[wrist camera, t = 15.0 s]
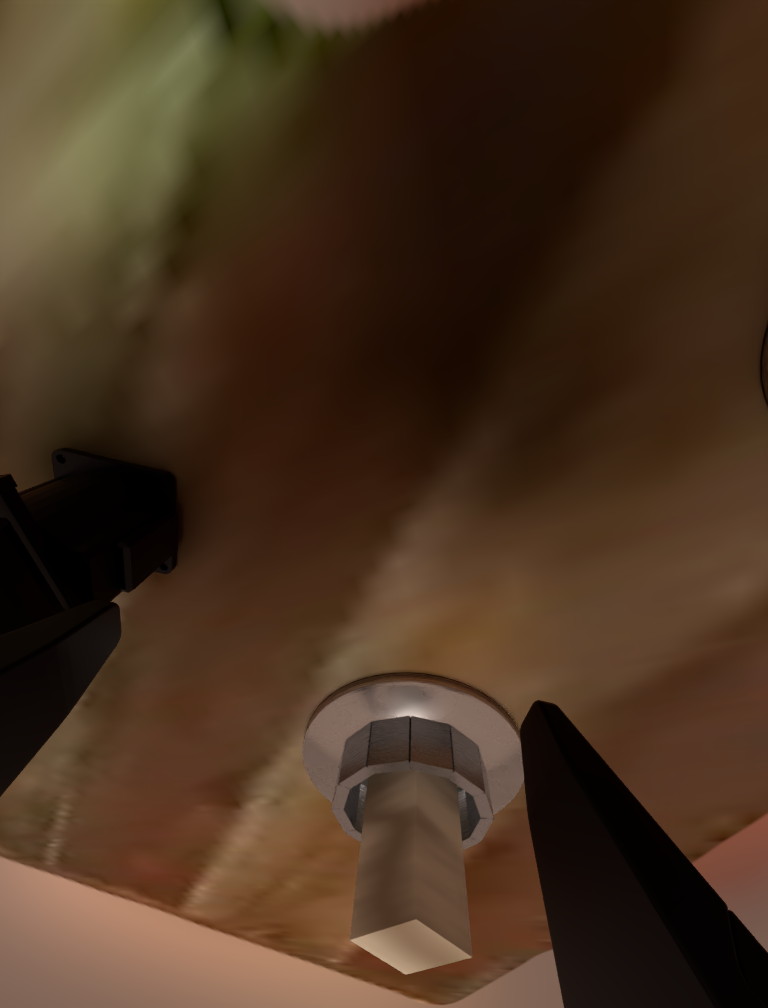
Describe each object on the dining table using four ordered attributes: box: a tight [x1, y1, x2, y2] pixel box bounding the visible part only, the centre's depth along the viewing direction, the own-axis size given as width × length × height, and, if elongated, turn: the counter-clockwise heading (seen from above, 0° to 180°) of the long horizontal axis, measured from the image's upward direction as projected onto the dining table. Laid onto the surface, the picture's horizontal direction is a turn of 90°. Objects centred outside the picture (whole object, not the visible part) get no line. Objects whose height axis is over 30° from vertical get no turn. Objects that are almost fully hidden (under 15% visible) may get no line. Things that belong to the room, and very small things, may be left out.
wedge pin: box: [350, 770, 472, 974], centre depth 24 cm, size 4×4×9 cm
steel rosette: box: [302, 673, 524, 850], centre depth 27 cm, size 16×16×4 cm
